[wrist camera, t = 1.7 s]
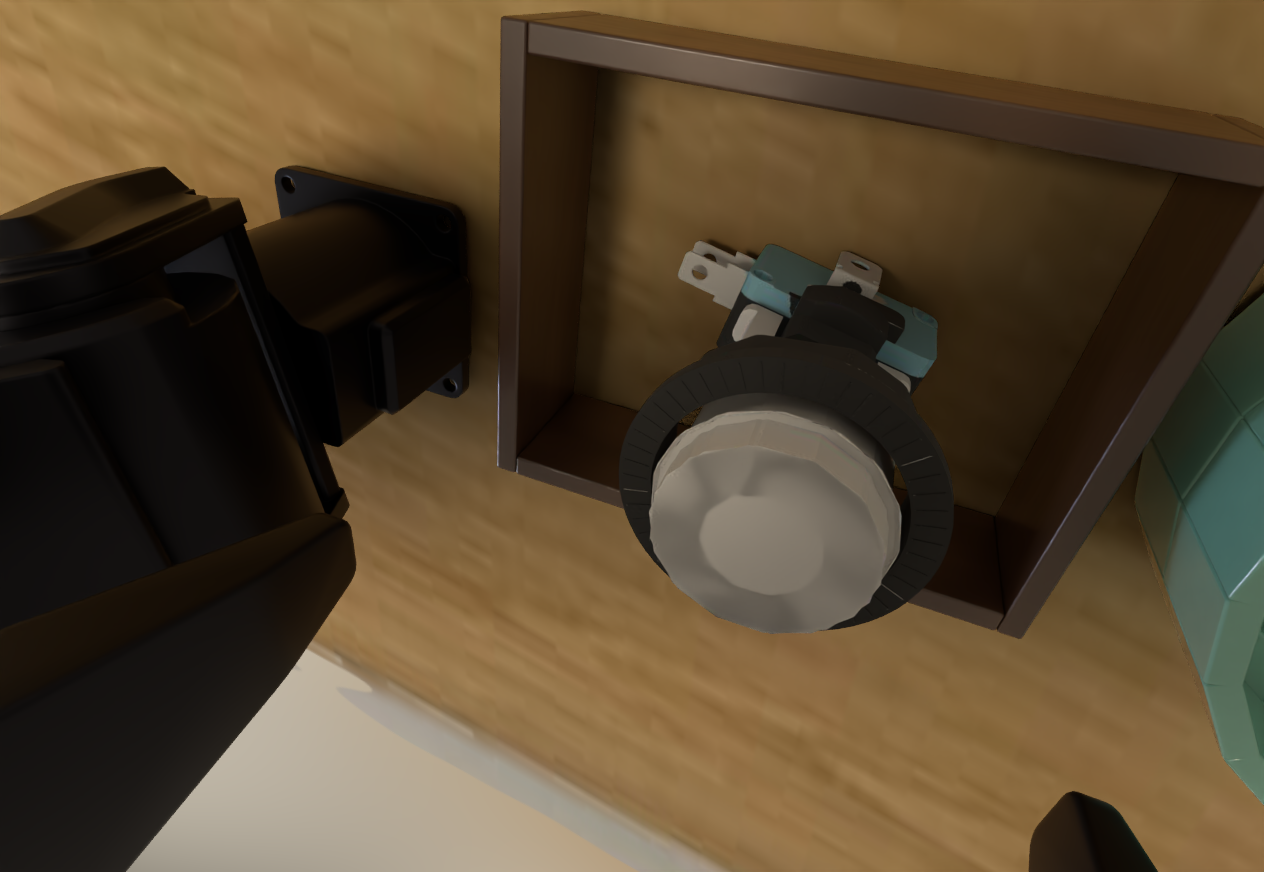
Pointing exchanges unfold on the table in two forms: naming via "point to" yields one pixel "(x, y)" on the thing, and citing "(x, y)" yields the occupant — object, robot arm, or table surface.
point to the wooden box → (946, 100)
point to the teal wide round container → (1216, 534)
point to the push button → (793, 450)
